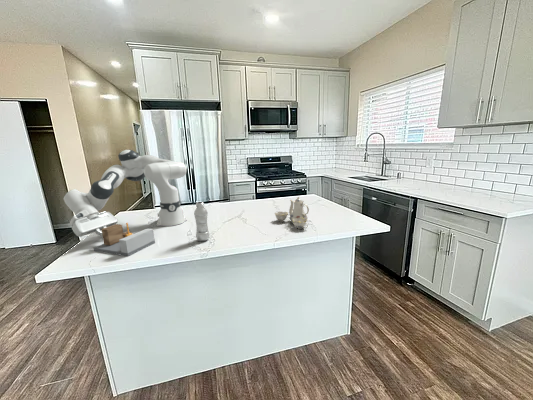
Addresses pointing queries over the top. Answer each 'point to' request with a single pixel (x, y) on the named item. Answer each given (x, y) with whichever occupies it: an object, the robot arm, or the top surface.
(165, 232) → the top surface
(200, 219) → the plastic bottle
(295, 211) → the chinaware
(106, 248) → the base
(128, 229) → the needle
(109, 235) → the brown wooden block
